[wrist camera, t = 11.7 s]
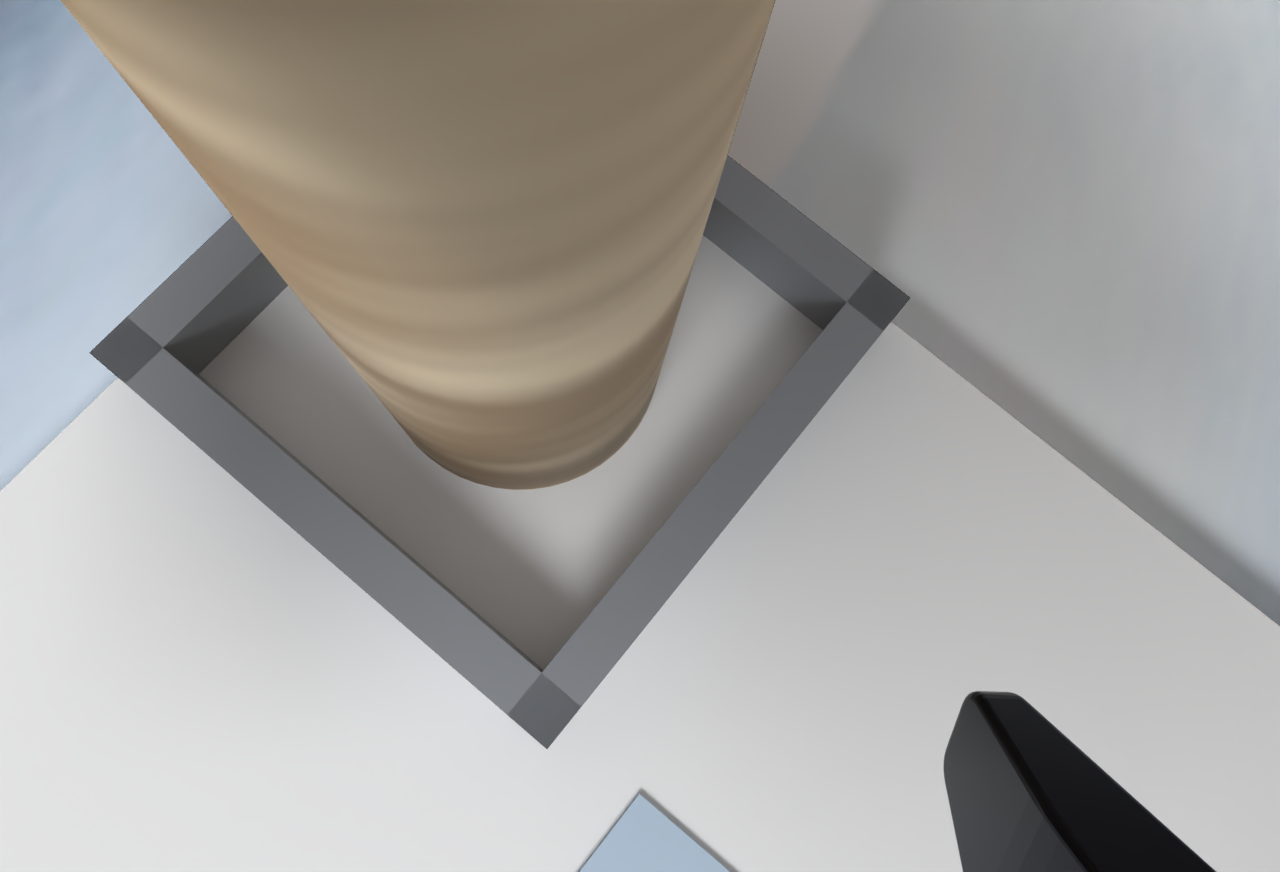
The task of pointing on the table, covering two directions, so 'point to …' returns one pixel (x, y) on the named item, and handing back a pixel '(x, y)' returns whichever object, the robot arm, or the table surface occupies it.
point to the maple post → (464, 191)
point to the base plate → (588, 605)
